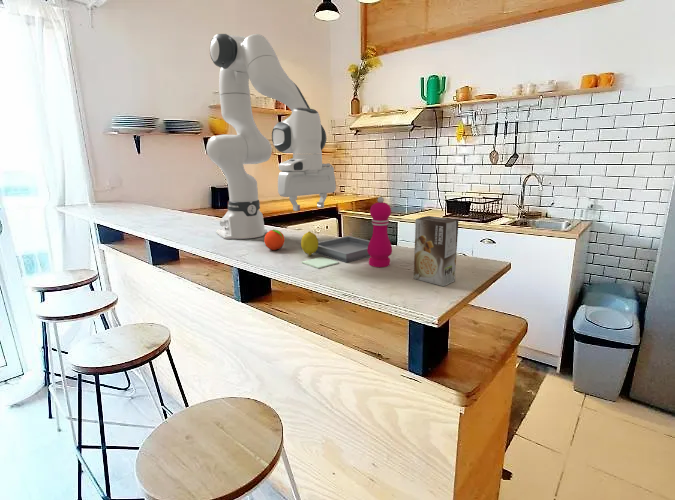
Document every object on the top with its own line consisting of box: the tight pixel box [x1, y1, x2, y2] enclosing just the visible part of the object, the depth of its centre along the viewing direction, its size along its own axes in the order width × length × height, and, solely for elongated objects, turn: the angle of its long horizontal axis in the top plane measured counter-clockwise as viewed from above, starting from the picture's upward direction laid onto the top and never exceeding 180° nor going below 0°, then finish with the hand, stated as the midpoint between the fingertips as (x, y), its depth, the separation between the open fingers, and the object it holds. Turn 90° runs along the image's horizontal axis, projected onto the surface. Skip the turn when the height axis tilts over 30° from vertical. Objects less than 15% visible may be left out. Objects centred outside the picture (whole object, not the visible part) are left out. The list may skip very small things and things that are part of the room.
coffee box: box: [413, 215, 460, 287], centre depth 96 cm, size 9×6×16 cm
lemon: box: [300, 230, 319, 256], centre depth 121 cm, size 6×6×8 cm
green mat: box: [301, 256, 340, 269], centre depth 113 cm, size 8×8×1 cm
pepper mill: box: [367, 196, 393, 268], centre depth 109 cm, size 7×7×20 cm
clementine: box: [263, 229, 286, 251], centre depth 128 cm, size 8×7×7 cm
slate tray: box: [314, 235, 371, 263], centre depth 125 cm, size 18×18×3 cm
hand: (308, 209), depth 118 cm, fingers open, 8 cm apart
